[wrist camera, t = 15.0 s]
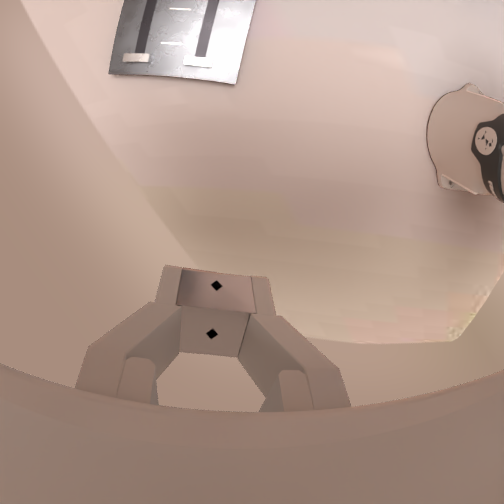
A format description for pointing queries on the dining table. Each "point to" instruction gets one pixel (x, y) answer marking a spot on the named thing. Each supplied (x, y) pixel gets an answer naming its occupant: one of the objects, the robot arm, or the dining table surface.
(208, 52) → the console
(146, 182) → the dining table surface
